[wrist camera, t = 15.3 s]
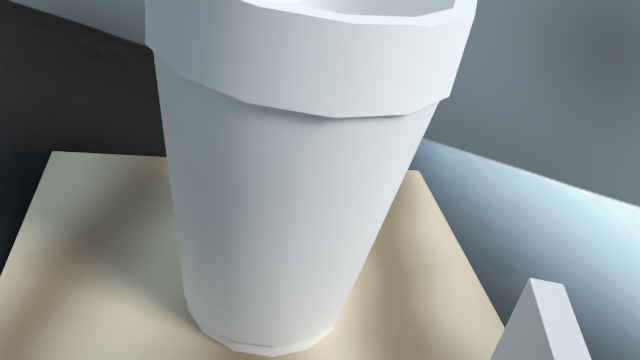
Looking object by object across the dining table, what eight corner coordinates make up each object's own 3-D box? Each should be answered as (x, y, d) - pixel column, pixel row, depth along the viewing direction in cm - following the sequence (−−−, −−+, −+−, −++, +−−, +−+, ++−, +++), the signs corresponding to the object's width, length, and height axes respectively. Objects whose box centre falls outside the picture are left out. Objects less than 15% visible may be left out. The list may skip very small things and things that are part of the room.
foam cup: (168, 423, 18) (185, 19, 11) (126, 237, 25) (120, -86, 18) (420, 357, 22) (549, 29, 15) (324, 212, 29) (383, -60, 22)
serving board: (412, 191, 35) (418, 170, 34) (594, 552, 18) (614, 529, 18) (55, 175, 30) (52, 151, 29) (-122, 634, 14) (-138, 607, 13)
